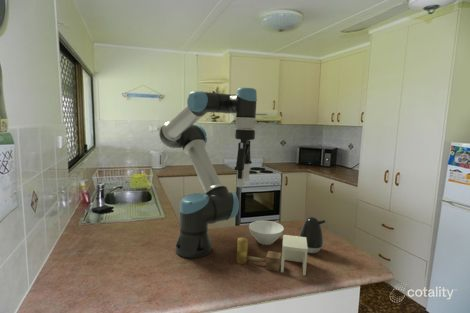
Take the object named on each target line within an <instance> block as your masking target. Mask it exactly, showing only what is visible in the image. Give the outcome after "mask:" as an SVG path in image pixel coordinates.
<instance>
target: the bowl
mask: <svg viewBox="0 0 470 313" xmlns="http://www.w3.org/2000/svg"><path fill="white" fill-rule="evenodd" d="M248 229H249V232H250V234H251V235H252V236H253V238H255V240H256V242H258V243H259V244H261V245H264V244H265V245H266V246H269V245H273V244H274V243H275V242H276V241H277V240H278V239H279V238H280V237H282V236H283V233H284V230H285V228H284V226H283V225H282V224H280V223H278V222H275V221H270V220H256V221H252V222H251V223H250V224H248ZM265 245H264V246H265Z"/></svg>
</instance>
